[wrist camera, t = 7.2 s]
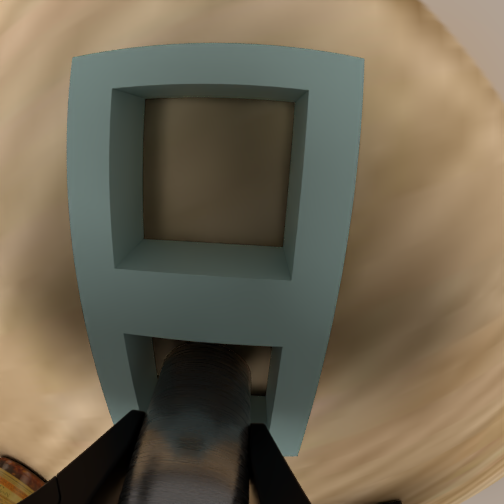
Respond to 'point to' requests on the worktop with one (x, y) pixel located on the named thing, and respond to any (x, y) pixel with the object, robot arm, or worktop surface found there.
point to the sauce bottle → (16, 482)
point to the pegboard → (211, 254)
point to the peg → (194, 431)
